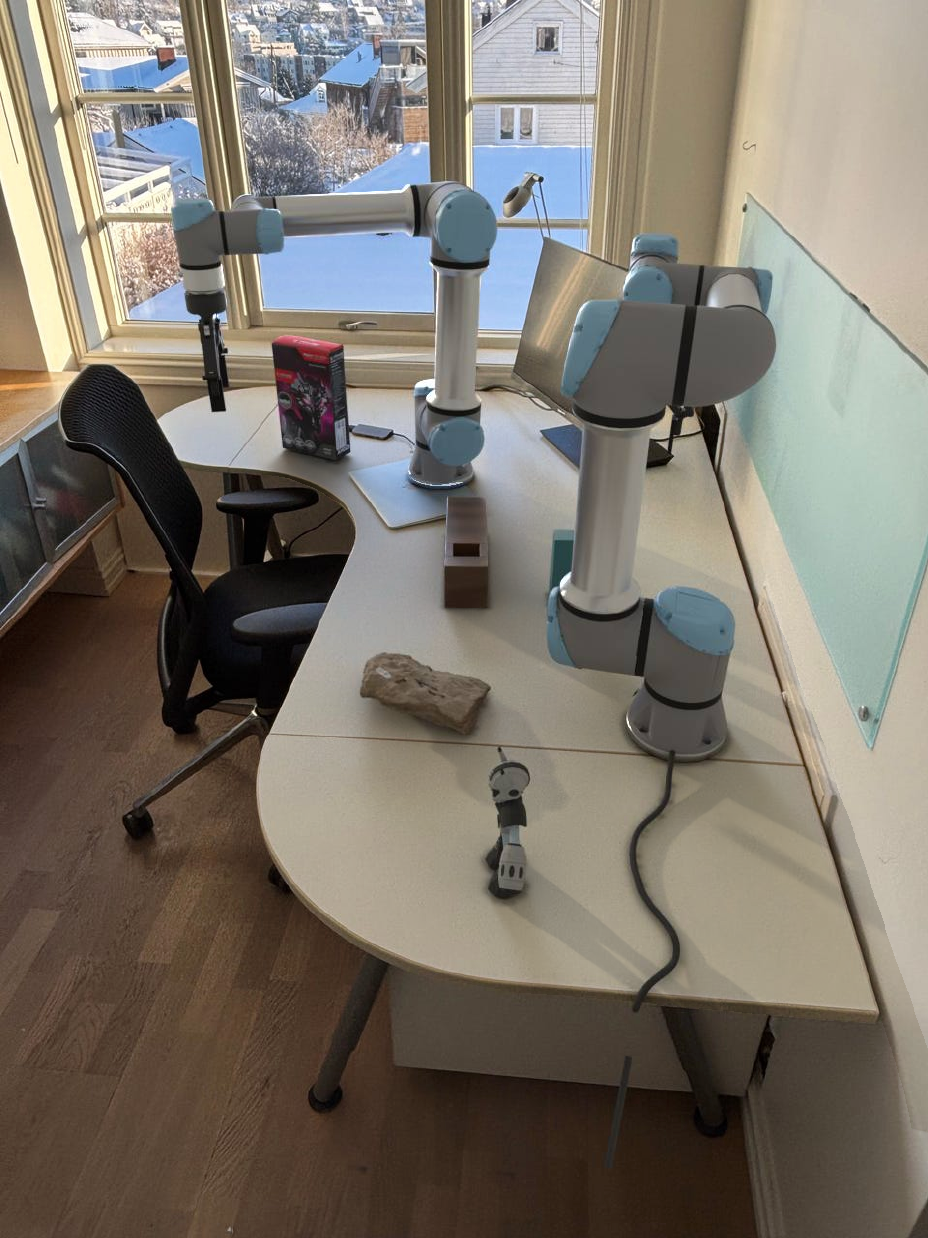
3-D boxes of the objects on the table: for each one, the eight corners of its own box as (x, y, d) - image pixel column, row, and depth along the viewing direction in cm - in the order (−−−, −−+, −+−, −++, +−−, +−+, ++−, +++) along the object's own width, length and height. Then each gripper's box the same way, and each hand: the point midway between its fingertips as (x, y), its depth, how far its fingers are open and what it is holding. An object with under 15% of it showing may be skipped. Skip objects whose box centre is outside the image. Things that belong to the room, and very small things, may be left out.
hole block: (487, 608, 172) (488, 566, 167) (444, 607, 172) (444, 566, 167) (485, 535, 195) (486, 497, 190) (447, 535, 195) (447, 496, 190)
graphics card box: (280, 449, 231) (268, 340, 216) (296, 439, 236) (286, 332, 221) (337, 462, 224) (328, 351, 209) (352, 452, 229) (345, 343, 214)
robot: (531, 936, 111) (540, 818, 100) (491, 937, 111) (496, 820, 100) (516, 817, 127) (522, 704, 116) (481, 818, 127) (484, 705, 116)
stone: (334, 705, 142) (341, 671, 140) (369, 669, 156) (376, 637, 153) (461, 752, 139) (471, 718, 136) (486, 710, 152) (495, 679, 150)
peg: (571, 605, 172) (577, 540, 165) (550, 605, 172) (554, 539, 165) (569, 594, 176) (575, 529, 168) (548, 594, 176) (553, 529, 168)
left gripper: (189, 273, 182) (205, 378, 194) (177, 308, 162) (196, 423, 174) (228, 272, 183) (242, 376, 195) (221, 306, 163) (237, 420, 175)
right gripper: (720, 330, 158) (701, 446, 170) (575, 320, 163) (566, 433, 175) (720, 343, 152) (700, 462, 164) (569, 332, 157) (561, 448, 168)
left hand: (220, 398), depth 184 cm, fingers open, 13 cm apart
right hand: (631, 447), depth 169 cm, fingers open, 13 cm apart
